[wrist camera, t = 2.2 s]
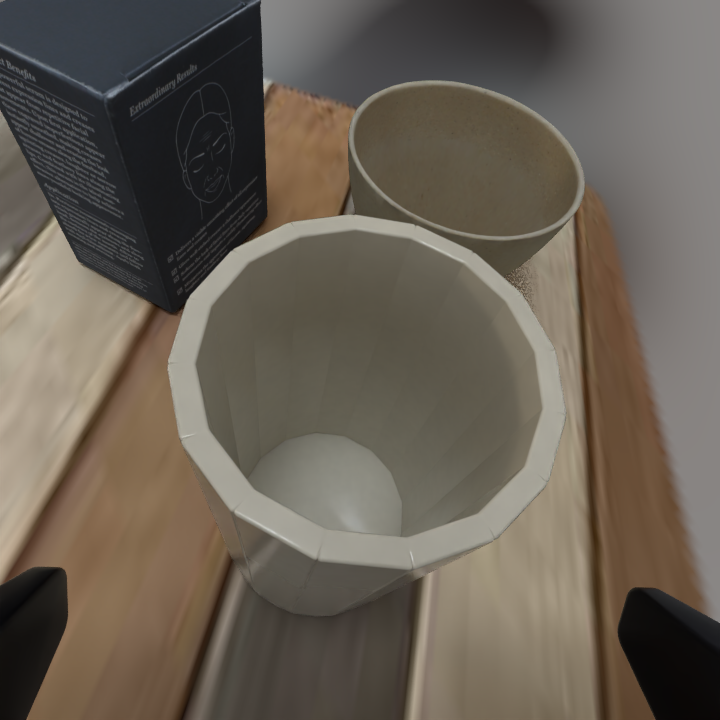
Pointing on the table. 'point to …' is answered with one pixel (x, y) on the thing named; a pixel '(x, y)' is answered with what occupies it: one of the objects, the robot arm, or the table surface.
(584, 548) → the table surface
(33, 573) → the robot arm
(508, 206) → the bowl
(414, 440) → the tumbler
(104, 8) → the box
